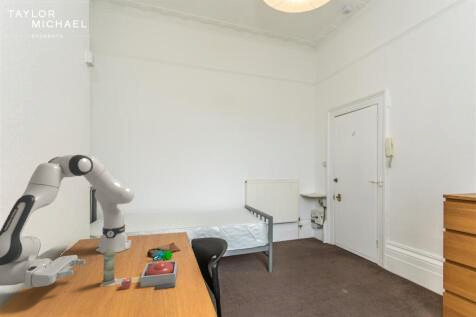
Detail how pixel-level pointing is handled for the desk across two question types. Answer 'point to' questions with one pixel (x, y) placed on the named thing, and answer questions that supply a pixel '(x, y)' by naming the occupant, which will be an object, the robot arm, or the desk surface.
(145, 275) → the game board
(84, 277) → the desk surface
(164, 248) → the sunglasses case
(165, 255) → the stick construction toy
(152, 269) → the dome
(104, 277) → the pawn
